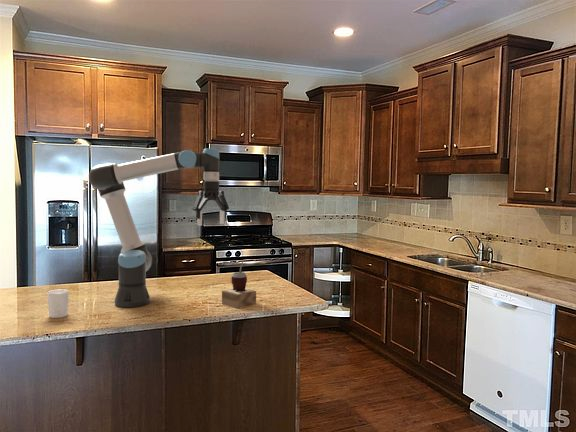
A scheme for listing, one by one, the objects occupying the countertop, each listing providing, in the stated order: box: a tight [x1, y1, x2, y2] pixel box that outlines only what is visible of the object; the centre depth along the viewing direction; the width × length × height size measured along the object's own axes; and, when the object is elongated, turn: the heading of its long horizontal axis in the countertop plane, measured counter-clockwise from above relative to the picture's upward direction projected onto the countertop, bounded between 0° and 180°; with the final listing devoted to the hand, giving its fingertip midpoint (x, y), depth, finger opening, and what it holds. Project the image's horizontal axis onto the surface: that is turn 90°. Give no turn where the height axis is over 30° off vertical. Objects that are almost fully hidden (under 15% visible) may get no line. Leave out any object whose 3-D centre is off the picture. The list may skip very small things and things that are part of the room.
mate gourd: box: [230, 259, 248, 292], centre depth 211 cm, size 8×8×15 cm
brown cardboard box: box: [221, 288, 257, 310], centre depth 212 cm, size 11×11×6 cm
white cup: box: [46, 289, 70, 319], centre depth 189 cm, size 8×8×10 cm
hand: (211, 224), depth 225 cm, fingers open, 13 cm apart
